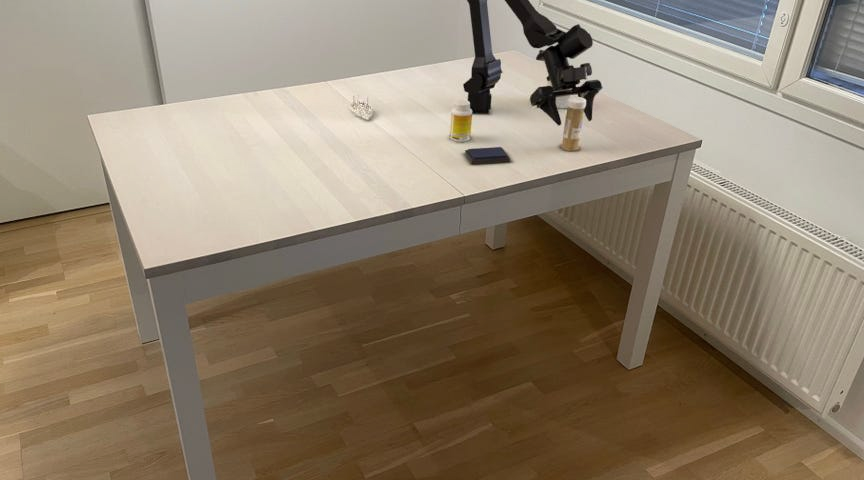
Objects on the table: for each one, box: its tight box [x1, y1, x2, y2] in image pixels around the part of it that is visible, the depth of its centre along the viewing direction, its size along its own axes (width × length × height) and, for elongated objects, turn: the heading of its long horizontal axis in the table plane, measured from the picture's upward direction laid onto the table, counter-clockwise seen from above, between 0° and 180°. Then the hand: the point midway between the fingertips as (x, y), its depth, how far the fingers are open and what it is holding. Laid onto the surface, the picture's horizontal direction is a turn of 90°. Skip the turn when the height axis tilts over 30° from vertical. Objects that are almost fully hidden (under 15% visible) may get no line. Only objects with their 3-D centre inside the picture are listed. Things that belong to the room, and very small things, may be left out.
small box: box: [546, 81, 571, 109], centre depth 216 cm, size 8×6×10 cm
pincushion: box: [348, 94, 374, 120], centre depth 209 cm, size 12×6×6 cm, turn 19°
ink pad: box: [464, 146, 511, 165], centre depth 185 cm, size 10×6×2 cm, turn 99°
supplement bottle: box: [449, 99, 473, 143], centre depth 193 cm, size 6×6×10 cm
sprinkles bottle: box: [561, 96, 586, 152], centre depth 187 cm, size 5×5×14 cm
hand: (575, 122), depth 186 cm, fingers open, 9 cm apart
